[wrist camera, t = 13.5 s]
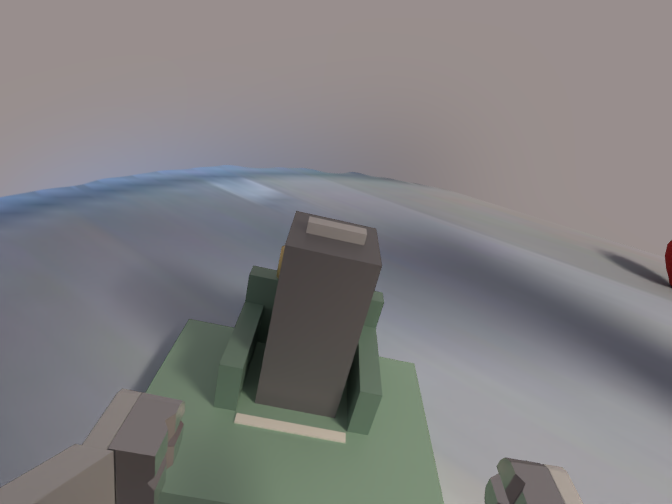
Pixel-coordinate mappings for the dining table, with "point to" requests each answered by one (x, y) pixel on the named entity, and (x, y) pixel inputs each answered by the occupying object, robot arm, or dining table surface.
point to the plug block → (318, 313)
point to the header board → (292, 421)
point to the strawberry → (669, 261)
